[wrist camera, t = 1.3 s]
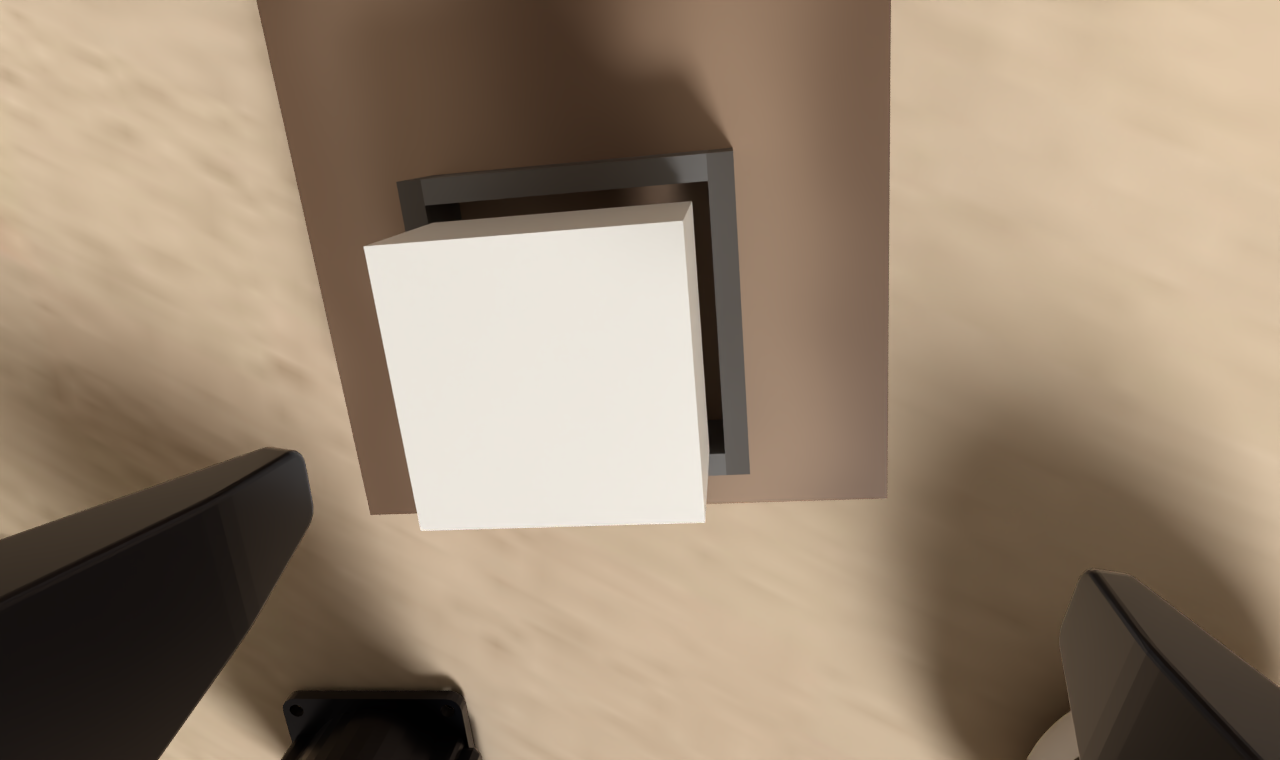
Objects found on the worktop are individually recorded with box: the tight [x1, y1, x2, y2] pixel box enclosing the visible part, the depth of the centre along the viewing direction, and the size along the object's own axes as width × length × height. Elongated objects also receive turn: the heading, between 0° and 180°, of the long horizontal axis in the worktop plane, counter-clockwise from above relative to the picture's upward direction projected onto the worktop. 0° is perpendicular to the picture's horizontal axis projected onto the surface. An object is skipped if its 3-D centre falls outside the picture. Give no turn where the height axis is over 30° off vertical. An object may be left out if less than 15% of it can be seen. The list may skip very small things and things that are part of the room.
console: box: [257, 0, 891, 515], centre depth 17 cm, size 13×22×6 cm, turn 5°
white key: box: [364, 201, 709, 531], centre depth 14 cm, size 5×5×3 cm
